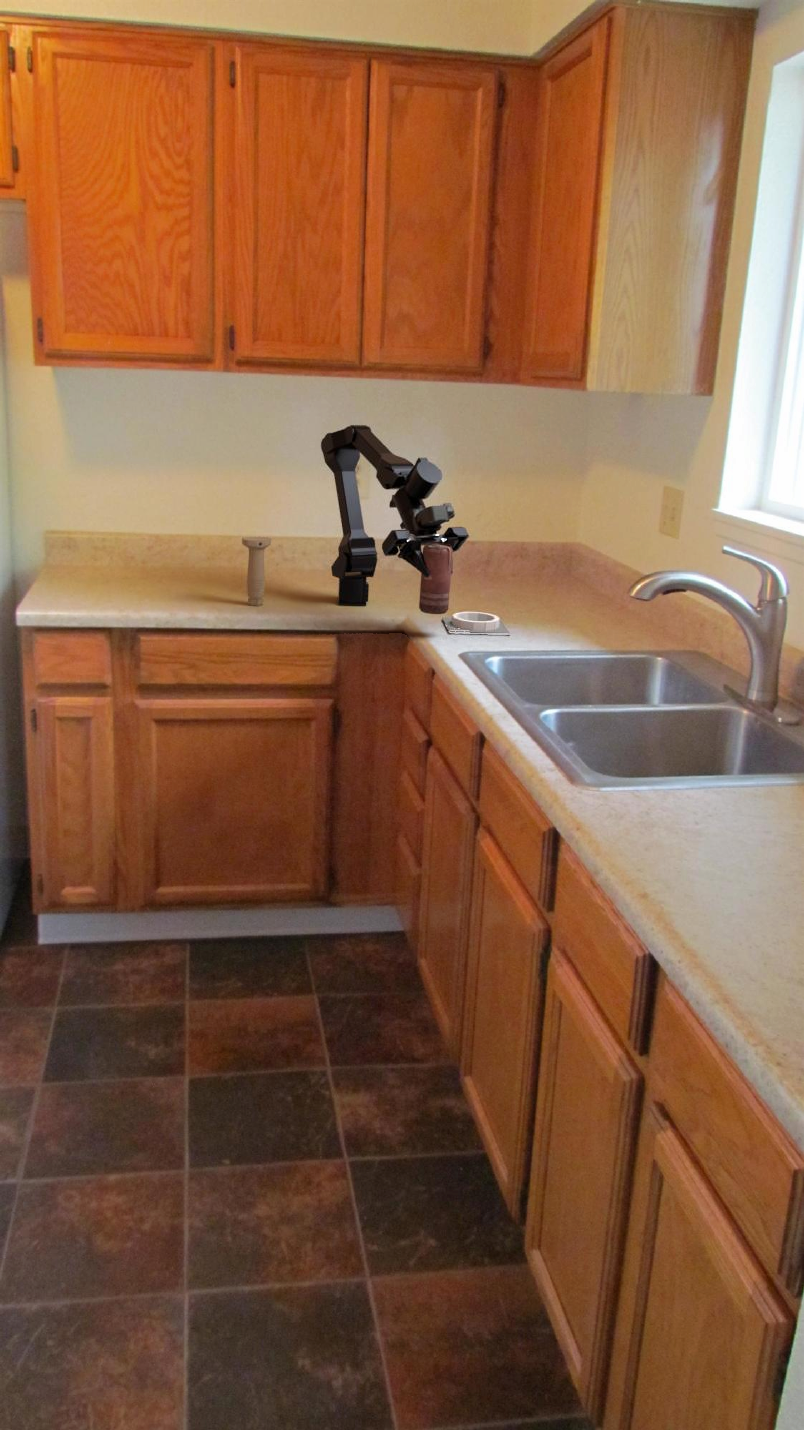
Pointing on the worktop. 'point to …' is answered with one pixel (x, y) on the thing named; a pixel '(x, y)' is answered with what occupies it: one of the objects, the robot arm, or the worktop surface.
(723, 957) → the worktop surface
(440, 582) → the can
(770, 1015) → the worktop surface
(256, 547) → the handle
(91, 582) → the worktop surface
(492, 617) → the square base with ring
